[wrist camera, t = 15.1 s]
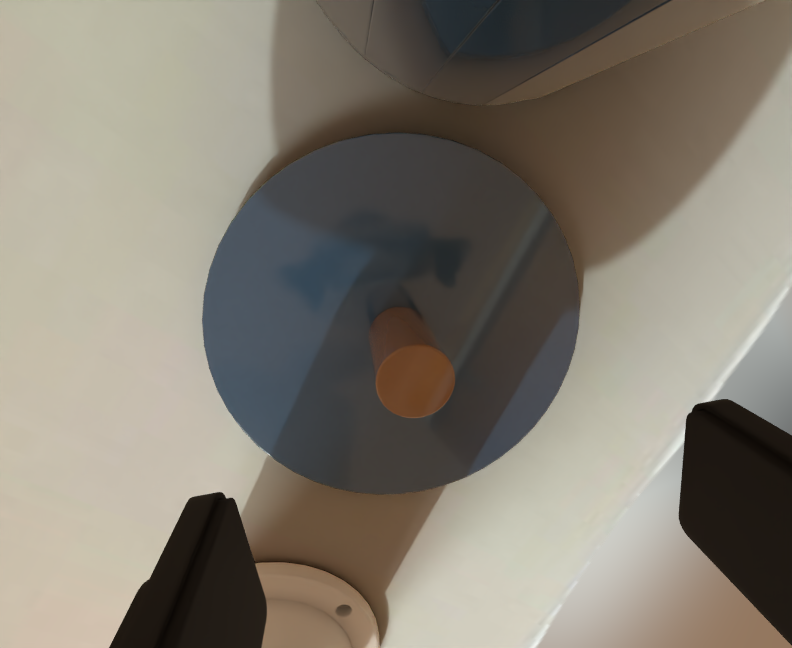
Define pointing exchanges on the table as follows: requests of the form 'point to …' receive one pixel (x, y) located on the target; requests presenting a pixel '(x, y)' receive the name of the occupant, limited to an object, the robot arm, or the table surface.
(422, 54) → the dark blue cylindrical pot
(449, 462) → the lid
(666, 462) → the table surface
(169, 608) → the robot arm
